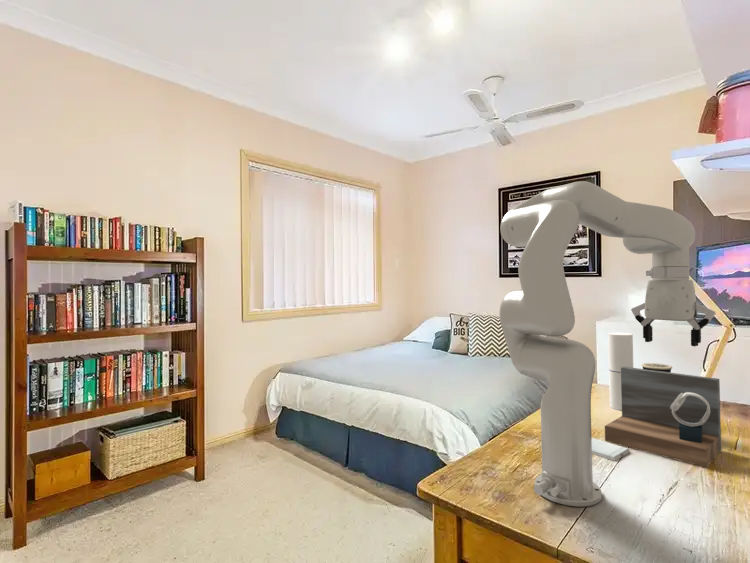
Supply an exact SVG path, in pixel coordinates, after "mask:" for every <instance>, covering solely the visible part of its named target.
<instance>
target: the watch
mask: <svg viewBox="0 0 750 563" xmlns="http://www.w3.org/2000/svg"><path fill="white" fill-rule="evenodd" d="M690 395H691V396H695V397H697V398H699V399H701V400H703V401H704V402H705V403H706V405H707V411H706V413H705V415H704V416H703V418H702V419H701V420H699V422H697V423H694V422H688V421H683V420H681V419H680V418H679V417H678V416H677V415H676V414H675V411H677V410H678V409H679V408H680V407H681V405H682V404H683V403H684V401H685V400H686V397H687V396H690ZM670 409H672V414H673V416H674V418H675V419H676V420H677V421H678V422H680V425H679V439H682V440H687V441H693V442H698V443H702V437H703V432H702V425H703V424H704V423H705V422H706V421H707V419H708V417H709V415H710V412H711V411H710V405H709V403H708V402H707V400H706V399H705V398H704V397H702V396H701V395H699V394H695V393H692V392H686V393H684V394H683V393H680V394H679V395H678V397H677V398H676V399H675V401H674V402H673V403H672V405H671V407H670Z"/></svg>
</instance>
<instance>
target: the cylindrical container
mask: <svg viewBox="0 0 750 563" xmlns="http://www.w3.org/2000/svg"><path fill="white" fill-rule="evenodd" d="M633 340H634V339H633V333H630V332H616V331H615V332H608V333H607V345H608V346H607V348H608V349H607V350H608V381H609V383H608V384H609V386H608V387H609V388H608V389H609V408H611V409H613V410H616V411H621V412H622V393H621V367H631V368H634V341H633Z"/></svg>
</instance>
